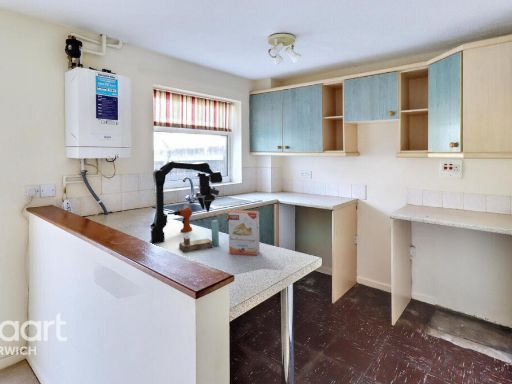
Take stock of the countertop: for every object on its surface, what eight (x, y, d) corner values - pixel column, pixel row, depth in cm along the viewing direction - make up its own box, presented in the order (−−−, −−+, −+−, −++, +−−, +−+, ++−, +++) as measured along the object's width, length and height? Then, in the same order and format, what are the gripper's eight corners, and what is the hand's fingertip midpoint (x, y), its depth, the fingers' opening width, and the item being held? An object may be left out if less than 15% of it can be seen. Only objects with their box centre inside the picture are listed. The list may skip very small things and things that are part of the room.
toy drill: (164, 233, 190) (165, 208, 190) (188, 230, 206) (189, 207, 205) (169, 234, 187) (170, 209, 187) (193, 231, 203) (194, 207, 202)
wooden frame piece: (183, 252, 160) (183, 247, 160) (179, 247, 168) (179, 243, 168) (212, 247, 167) (212, 243, 166) (207, 243, 174) (206, 239, 174)
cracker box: (228, 254, 156) (227, 211, 153) (232, 250, 162) (231, 209, 159) (257, 256, 153) (256, 212, 150) (259, 252, 159) (259, 210, 156)
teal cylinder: (213, 246, 170) (212, 221, 168) (211, 244, 173) (210, 220, 171) (219, 245, 171) (219, 221, 169) (217, 243, 174) (216, 219, 172)
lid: (183, 247, 160) (183, 240, 160) (180, 243, 167) (179, 236, 166) (212, 242, 167) (212, 236, 167) (208, 239, 174) (208, 232, 173)
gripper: (223, 184, 183) (224, 211, 185) (212, 181, 200) (213, 206, 202) (204, 186, 178) (205, 213, 180) (194, 182, 195) (195, 208, 197)
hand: (205, 210), depth 190 cm, fingers open, 9 cm apart
